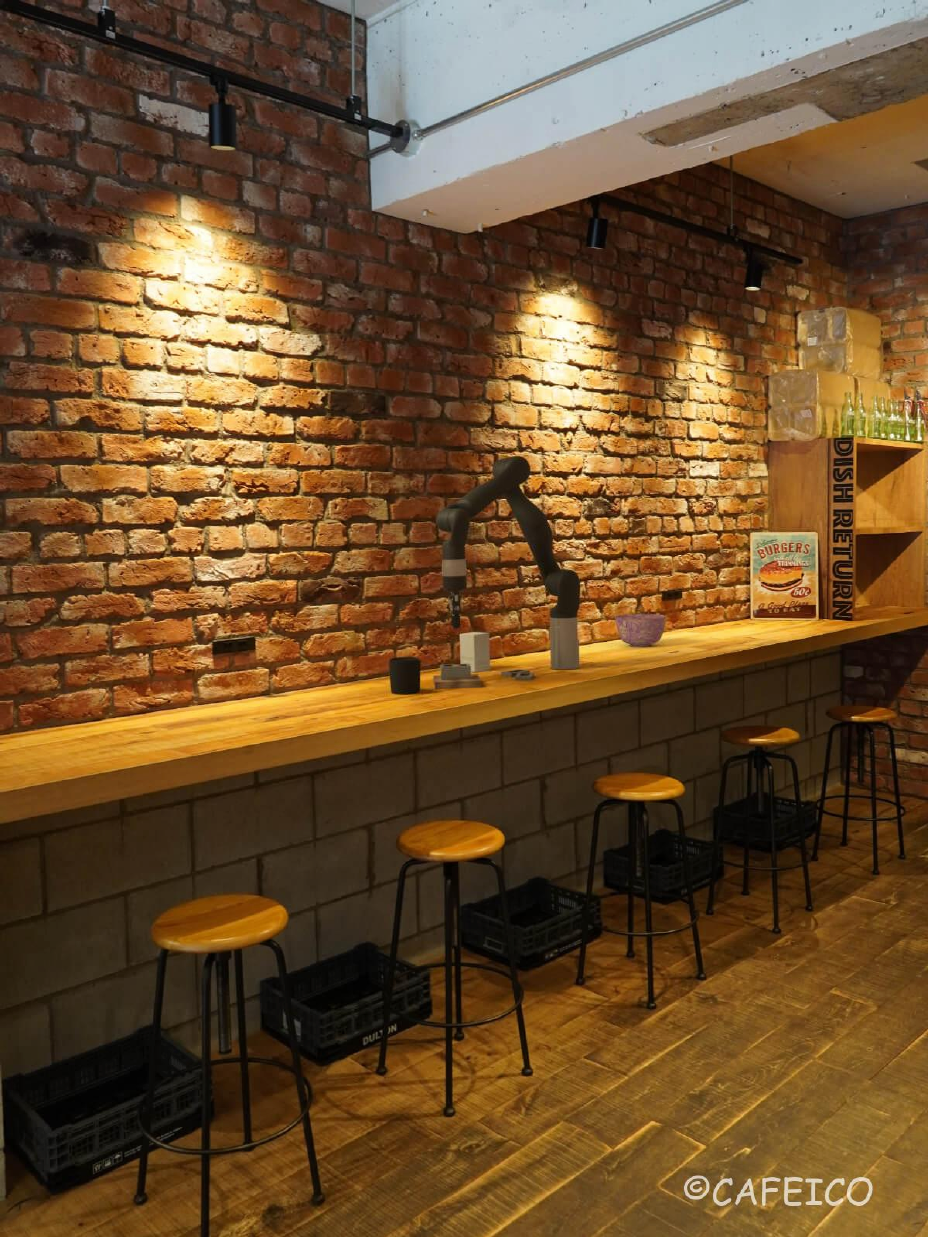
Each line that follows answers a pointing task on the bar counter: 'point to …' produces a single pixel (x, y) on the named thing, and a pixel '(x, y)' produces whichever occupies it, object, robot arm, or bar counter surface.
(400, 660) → the pen holder
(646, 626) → the purple bowl
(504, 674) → the slack link
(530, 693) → the bar counter surface
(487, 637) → the supplement box
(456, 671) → the end link
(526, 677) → the slack link
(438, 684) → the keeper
